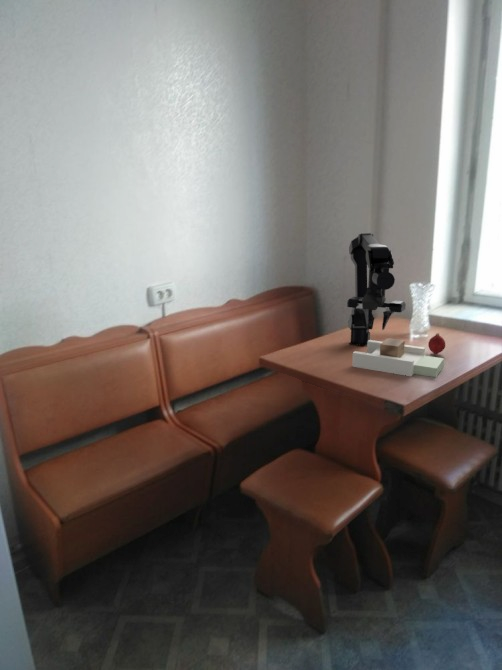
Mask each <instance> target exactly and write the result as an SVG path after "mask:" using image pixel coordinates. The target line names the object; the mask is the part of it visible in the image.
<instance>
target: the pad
mask: <svg viewBox="0 0 502 670" xmlns="http://www.w3.org/2000/svg"><path fill="white" fill-rule="evenodd" d="M444 359H445V358H443V357H437V356H436V357H435V356H429V355H425V356H422V357H421V358H420V359H419V360H418V361H417V362H416V364H415V365H414V374H413V375H419V376H420V375H421V376H426V377H432V378H437V376H438V375H439V373H440V372H441V370H443V368H444V362H445V361H444Z"/></svg>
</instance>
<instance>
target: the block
mask: <svg viewBox="0 0 502 670" xmlns="http://www.w3.org/2000/svg"><path fill="white" fill-rule="evenodd" d="M381 342H382V343H381V344H380V355H384V356H390V357H397V358H400V357H401V356H402V355H403V354H404V345H406V344H405V343H406V341H405V339H397V338H389V337H387V338H385V340H383V341H381Z"/></svg>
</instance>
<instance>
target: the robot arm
mask: <svg viewBox="0 0 502 670" xmlns="http://www.w3.org/2000/svg"><path fill="white" fill-rule="evenodd" d="M348 252H349V255H350V260H351V262H352V263H353V264H354V279H355V280H354V282H355V283H354V284H355V285H354V286H355V290H354V292H355V293H354V294H355V296H352V297H350V298H348V300H347V305H346V307H348V308H352V309H351V311H350V313H351V314H350V315H349V318H348V321H347V324H348V326H347V327H348V329H349V330H350V341H349V342H348V345H353V346H360V347H367V341H368V340H371V332H370V330H373V328H374V322H375V317H374V314H373V311H376V310H377V309H378V308H384V309H385V310H384V311H382V314H383V317H382V326H381V329H382V331H384V330H385V328H386V326H387V325H388V322H389V319H390V317H392V315H393V314H394V313H402V312H404V311H405V310H406V307H407V305H406V304H407V303H406V302H405V301H403V300H395V299H394V300H392V301H391V302H389V301H388V302H386V299H387V298H386V291H387V290H389V289H391V288H392V287H393V286H394V284H395V280H396V279H395V277H394V275H393V274H392V273H391V272H390V269H394V265H395V262H394V257H393V253H392V251H391V249H390V247H389V246H388V245H385V244H380V243H379V242H378V240H377V239H376V238H375V237H374V233H371V232H365V233H364V232H363V233H358V235H357V236H356V237H355V238H354V239H352V240H351V241H350V243H349V247H348Z"/></svg>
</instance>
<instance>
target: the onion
mask: <svg viewBox="0 0 502 670" xmlns="http://www.w3.org/2000/svg"><path fill="white" fill-rule="evenodd" d="M427 346H428V348H429V349H428V350H430V352H431V353H433V354H434V355H438V354H440V353H442V352H443V351H444V350H445V348H446V341H445V338H443V337H442V336H441V335H440V333H439V332H436V333H435V335H433V336H432V337H431V338H430V339H429V340H428V344H427Z"/></svg>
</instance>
